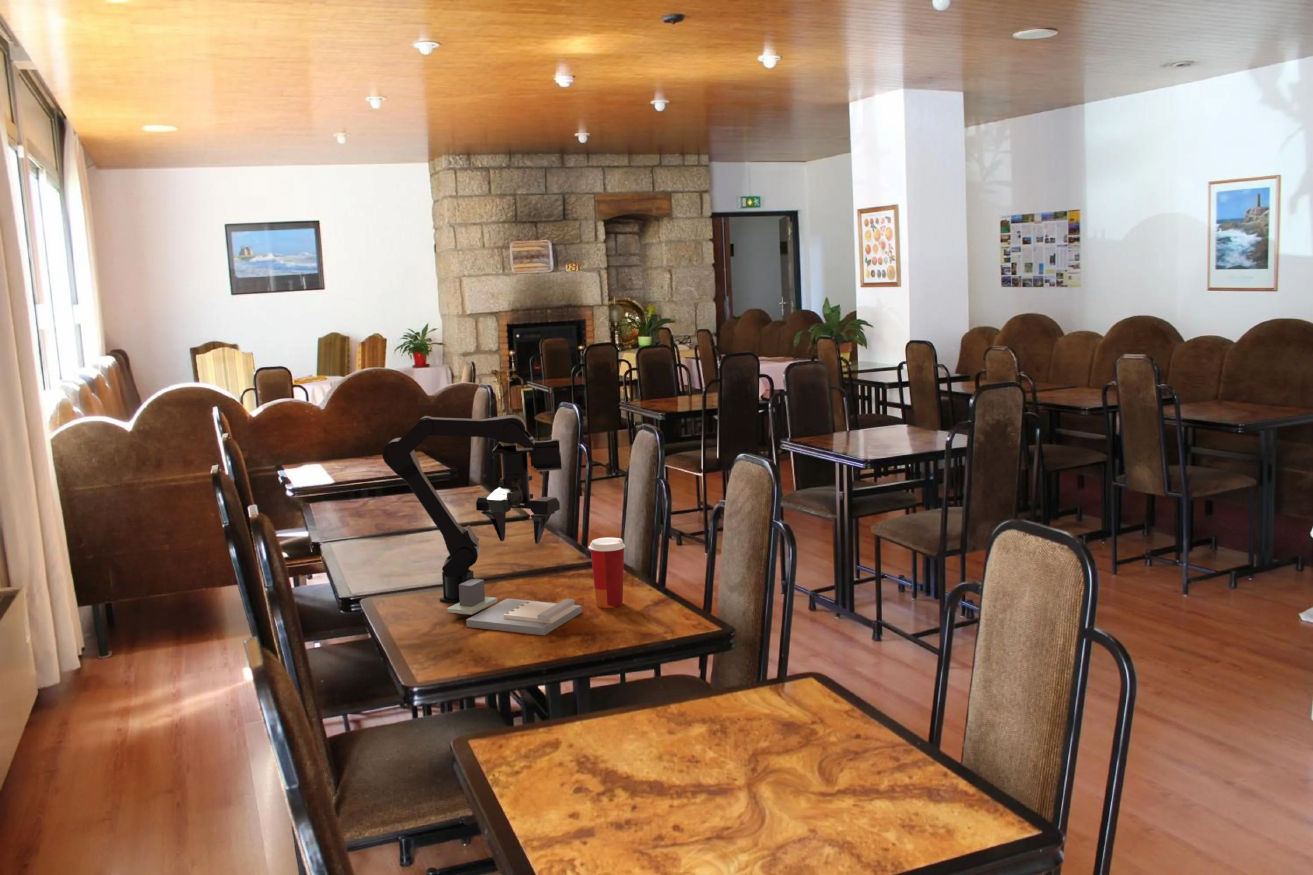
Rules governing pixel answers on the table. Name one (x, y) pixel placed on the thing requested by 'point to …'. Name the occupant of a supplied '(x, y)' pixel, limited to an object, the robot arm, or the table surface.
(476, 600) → the gray block on plate
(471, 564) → the robot arm
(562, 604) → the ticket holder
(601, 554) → the paper cup
